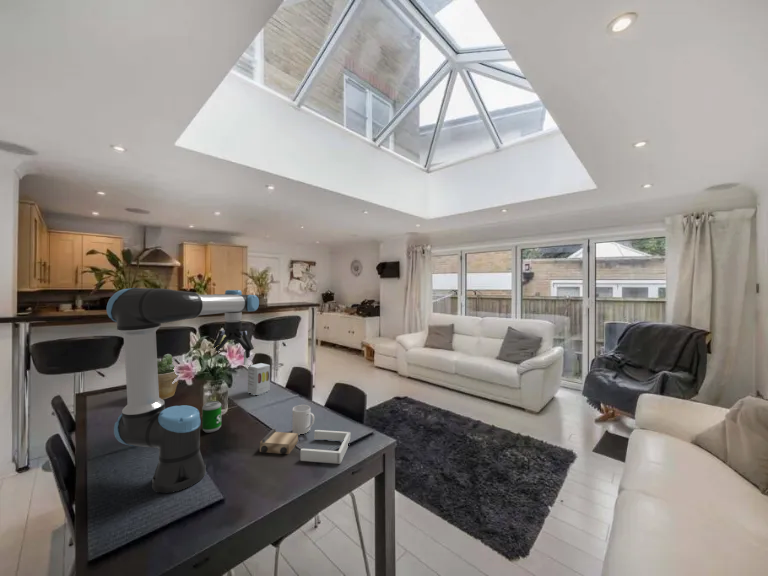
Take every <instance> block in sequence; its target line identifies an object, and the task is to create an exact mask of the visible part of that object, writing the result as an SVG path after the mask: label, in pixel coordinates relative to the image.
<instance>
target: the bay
mask: <svg viewBox="0 0 768 576" xmlns="http://www.w3.org/2000/svg"><path fill="white" fill-rule="evenodd" d="M351 434H352V433H351V431H338V430H337V431H336V430H327V429H326V430H325V429H324V430H323V429H322V430H321V429H315V430H314V435H313V436H314V439H332V440H344V441H343V442H341V445H340V446H339V449H338V450H330V449H329V450H328V449H316V448H315V449H313V448H301V449H300V462H311V463H313V462H314V463H323V464H324V463H325V464H339V465H341V463H342V461H343V459H344V456H345V455H346V452H347V451H348V448H349V446H348V443H349V441H350V439H351ZM351 440H352V439H351Z"/></svg>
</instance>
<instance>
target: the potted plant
mask: <svg viewBox="0 0 768 576" xmlns="http://www.w3.org/2000/svg"><path fill="white" fill-rule="evenodd" d="M175 366H176V365H174V364H173V355H172V354H170V353H167V354H164V355H163V357H162V358H161V360H159V359H158V358H157V368H158V387H159V398H161V399H163V400H167V399H170V398H172V397H173V396H175V392H176V391H177V386H178V384H179V380H178V381H177V382H175V383H174V384H172V382H173V381H174V379H175V378H176V377H177V375H176V374H175V372H174V370H173V369H174V367H175Z"/></svg>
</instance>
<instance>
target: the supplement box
mask: <svg viewBox="0 0 768 576" xmlns="http://www.w3.org/2000/svg"><path fill="white" fill-rule="evenodd" d="M249 366H250V365H249ZM270 376H271V365H270V364H267V363H262V362H260V363H256V364H251V366H250V367H248V366H247V393H248V392H250V393H252V394H256V395H257V394H260V393H263V392H266V391H268V390H270V389H271V387H270V384H271V377H270ZM252 394H251V395H252Z"/></svg>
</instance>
